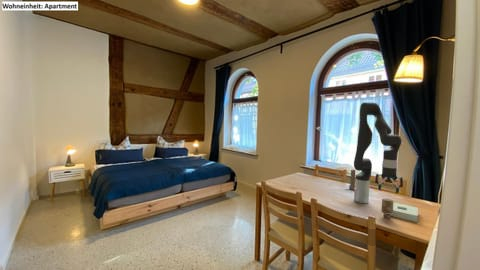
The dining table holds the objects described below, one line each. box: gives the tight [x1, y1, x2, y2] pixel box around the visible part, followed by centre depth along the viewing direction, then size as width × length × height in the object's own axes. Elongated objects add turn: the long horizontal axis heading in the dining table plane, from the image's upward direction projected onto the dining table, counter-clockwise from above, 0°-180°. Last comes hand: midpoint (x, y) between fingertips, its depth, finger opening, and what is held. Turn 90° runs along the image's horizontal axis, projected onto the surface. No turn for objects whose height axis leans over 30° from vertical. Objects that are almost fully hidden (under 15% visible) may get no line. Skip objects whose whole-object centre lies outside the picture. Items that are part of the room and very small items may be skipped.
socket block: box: [390, 202, 419, 223], centre depth 140 cm, size 16×16×4 cm
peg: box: [380, 197, 395, 220], centre depth 135 cm, size 6×6×12 cm
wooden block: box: [348, 168, 356, 191], centre depth 191 cm, size 4×11×18 cm, turn 99°
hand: (388, 191), depth 134 cm, fingers open, 8 cm apart
